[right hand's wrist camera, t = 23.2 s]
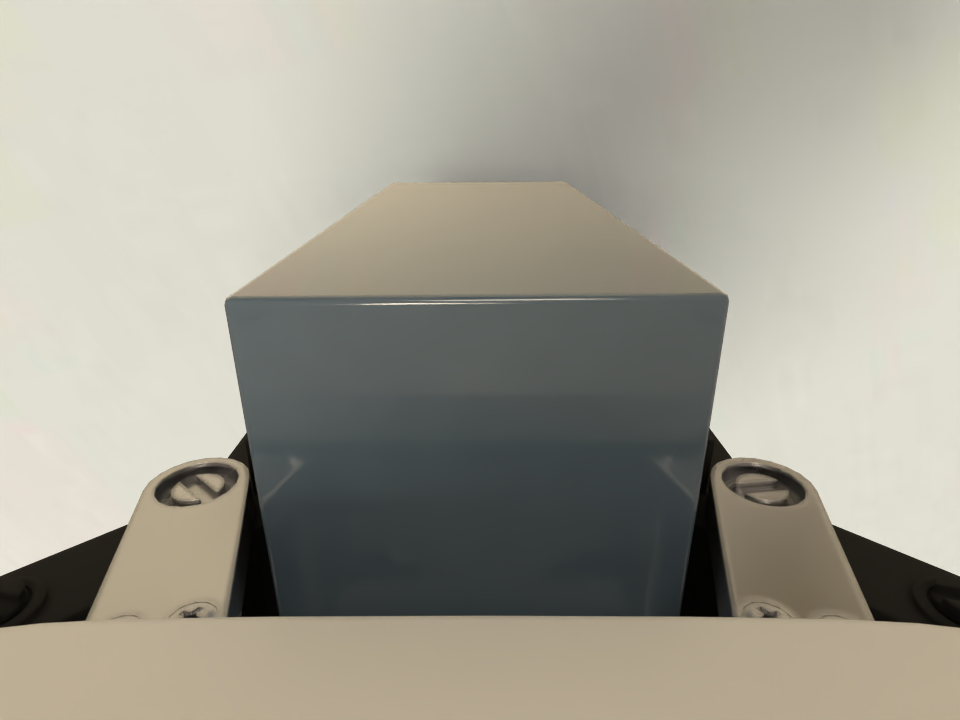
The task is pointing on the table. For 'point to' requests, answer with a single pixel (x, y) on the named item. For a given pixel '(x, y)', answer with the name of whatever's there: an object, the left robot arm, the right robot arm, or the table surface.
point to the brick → (478, 407)
